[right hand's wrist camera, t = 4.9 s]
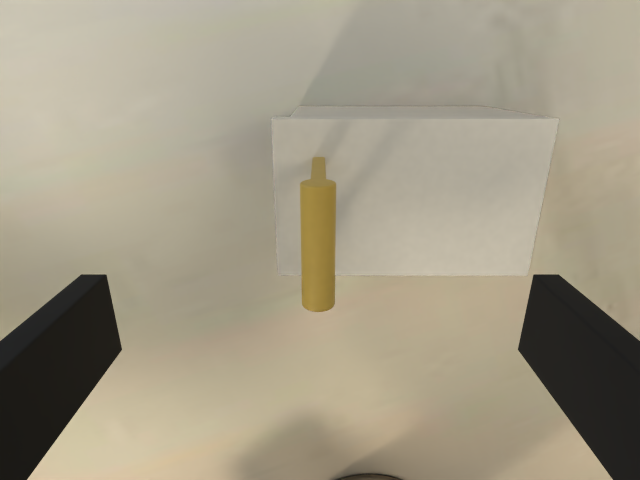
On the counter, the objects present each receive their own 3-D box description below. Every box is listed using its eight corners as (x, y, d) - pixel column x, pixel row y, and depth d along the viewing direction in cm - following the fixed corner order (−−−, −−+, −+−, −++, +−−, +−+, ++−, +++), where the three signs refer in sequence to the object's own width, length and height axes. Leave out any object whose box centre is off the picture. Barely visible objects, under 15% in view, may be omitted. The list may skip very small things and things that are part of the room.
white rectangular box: (279, 267, 27) (261, 348, 19) (273, 116, 24) (248, 136, 16) (518, 267, 27) (604, 349, 19) (548, 116, 24) (668, 136, 16)
